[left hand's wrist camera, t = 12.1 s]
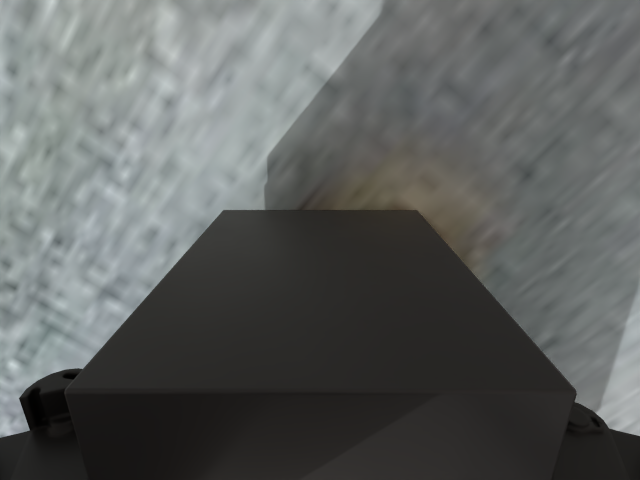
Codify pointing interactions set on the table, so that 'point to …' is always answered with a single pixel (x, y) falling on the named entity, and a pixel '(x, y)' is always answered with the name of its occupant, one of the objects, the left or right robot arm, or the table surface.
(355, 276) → the box
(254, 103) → the table surface
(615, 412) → the table surface
